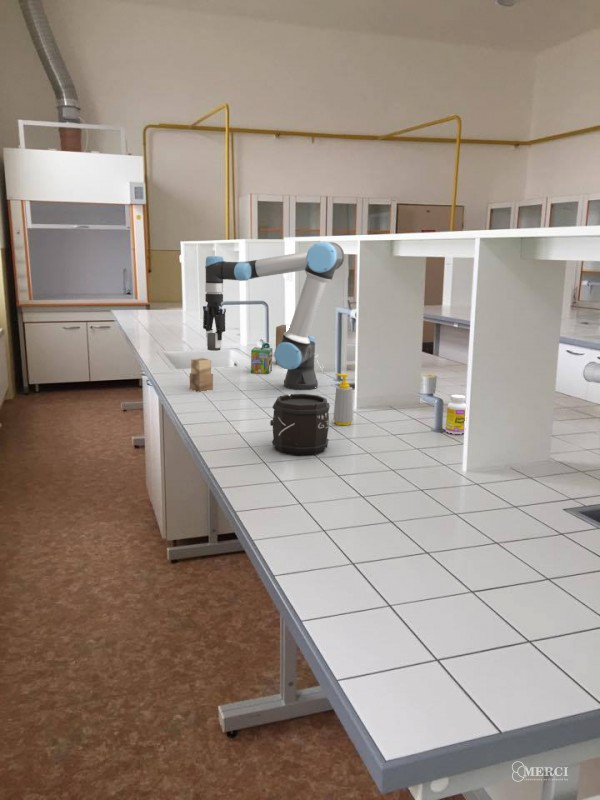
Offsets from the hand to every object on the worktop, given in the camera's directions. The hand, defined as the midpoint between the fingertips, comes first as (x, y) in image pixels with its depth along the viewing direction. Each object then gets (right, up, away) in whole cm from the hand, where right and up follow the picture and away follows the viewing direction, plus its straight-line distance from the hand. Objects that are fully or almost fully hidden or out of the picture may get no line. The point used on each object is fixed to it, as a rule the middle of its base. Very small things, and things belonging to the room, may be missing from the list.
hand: (214, 346), depth 295 cm
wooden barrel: (+37, -38, -85) cm, 100 cm away
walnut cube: (-5, -19, -6) cm, 20 cm away
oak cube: (-5, -12, -7) cm, 15 cm away
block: (+31, -4, +61) cm, 68 cm away
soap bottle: (+53, -32, -54) cm, 82 cm away
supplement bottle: (+91, -35, -62) cm, 115 cm away
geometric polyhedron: (+43, -10, +39) cm, 59 cm away
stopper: (0, -1, 0) cm, 1 cm away
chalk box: (+19, -10, +37) cm, 42 cm away
